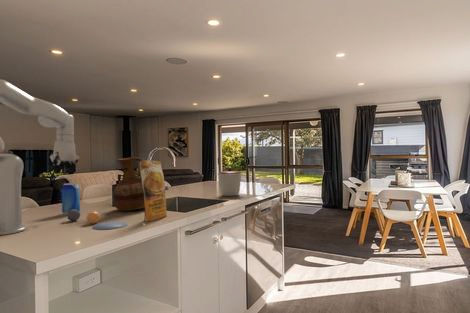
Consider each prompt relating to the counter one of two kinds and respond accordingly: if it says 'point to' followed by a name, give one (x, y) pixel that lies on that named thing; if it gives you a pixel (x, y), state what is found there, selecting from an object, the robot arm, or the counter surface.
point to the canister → (229, 182)
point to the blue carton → (70, 197)
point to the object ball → (93, 217)
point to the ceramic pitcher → (129, 187)
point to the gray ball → (73, 215)
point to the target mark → (109, 225)
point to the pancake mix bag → (153, 189)
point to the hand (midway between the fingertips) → (65, 172)
